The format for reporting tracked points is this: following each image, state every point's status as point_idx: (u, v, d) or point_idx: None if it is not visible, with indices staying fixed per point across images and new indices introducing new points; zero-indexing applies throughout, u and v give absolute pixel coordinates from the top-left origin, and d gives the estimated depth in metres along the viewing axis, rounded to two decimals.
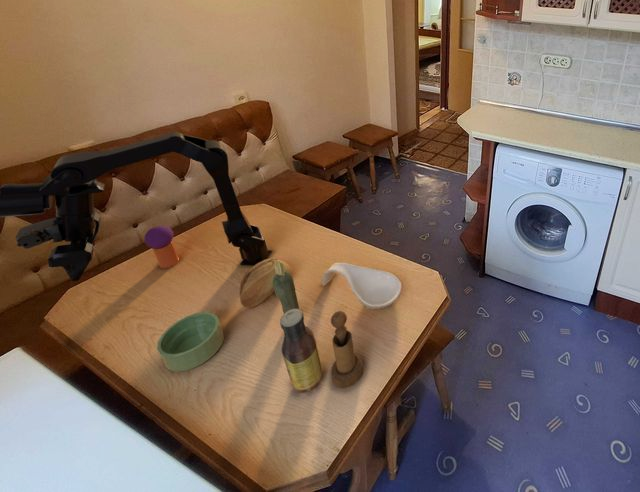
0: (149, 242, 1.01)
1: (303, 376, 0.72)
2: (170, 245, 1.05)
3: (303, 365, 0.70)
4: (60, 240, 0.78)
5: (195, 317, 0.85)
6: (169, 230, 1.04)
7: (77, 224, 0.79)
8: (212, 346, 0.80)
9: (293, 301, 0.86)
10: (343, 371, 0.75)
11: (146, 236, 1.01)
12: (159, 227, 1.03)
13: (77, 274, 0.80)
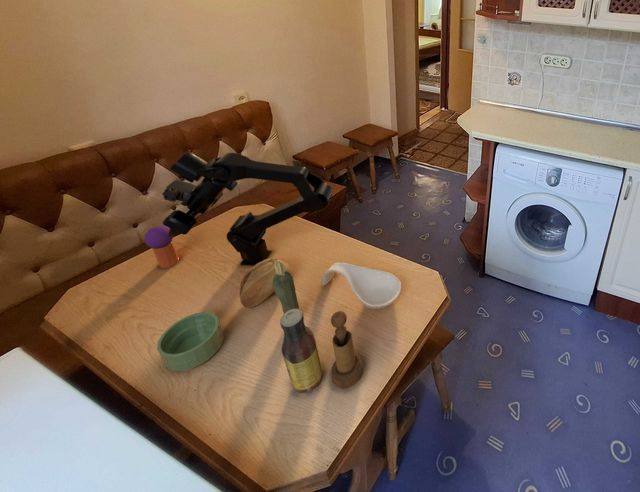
0: (149, 242, 1.01)
1: (303, 376, 0.72)
2: (170, 245, 1.05)
3: (303, 365, 0.70)
4: (184, 205, 0.97)
5: (195, 317, 0.85)
6: None
7: (201, 202, 0.97)
8: (212, 346, 0.80)
9: (293, 301, 0.86)
10: (343, 371, 0.75)
11: (146, 236, 1.01)
12: (159, 227, 1.03)
13: (173, 234, 0.97)
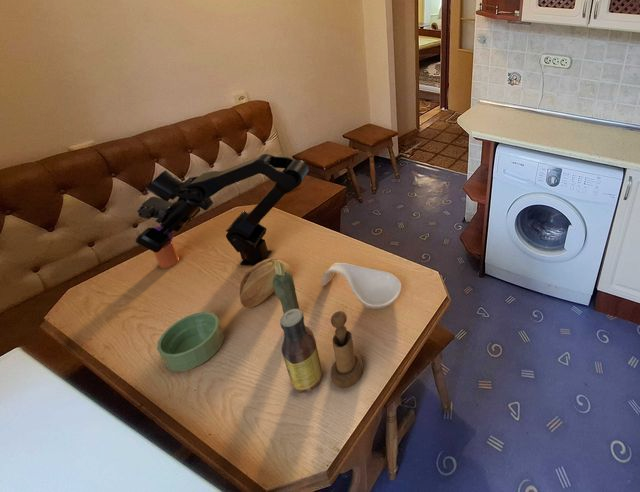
0: None
1: (303, 376, 0.72)
2: (170, 245, 1.05)
3: (303, 365, 0.70)
4: (159, 222, 0.99)
5: (195, 317, 0.85)
6: None
7: (175, 220, 0.99)
8: (212, 346, 0.80)
9: (293, 301, 0.86)
10: (343, 371, 0.75)
11: None
12: (159, 227, 1.03)
13: None
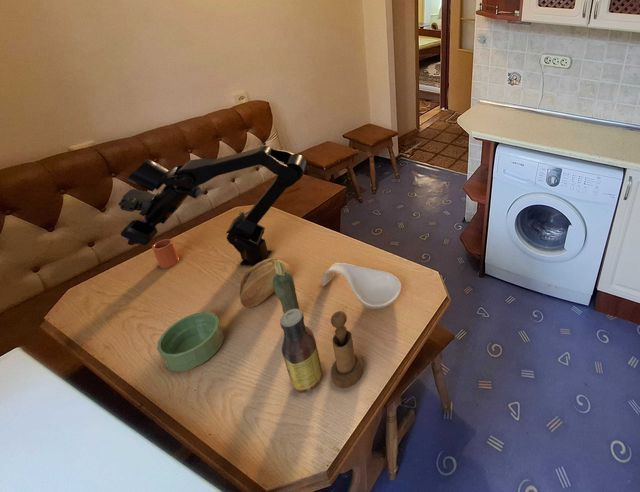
0: None
1: (303, 376, 0.72)
2: (170, 245, 1.05)
3: (303, 365, 0.70)
4: (143, 215, 0.94)
5: (195, 317, 0.85)
6: None
7: (162, 211, 0.95)
8: (212, 346, 0.80)
9: (293, 301, 0.86)
10: (343, 371, 0.75)
11: None
12: None
13: (133, 241, 0.95)
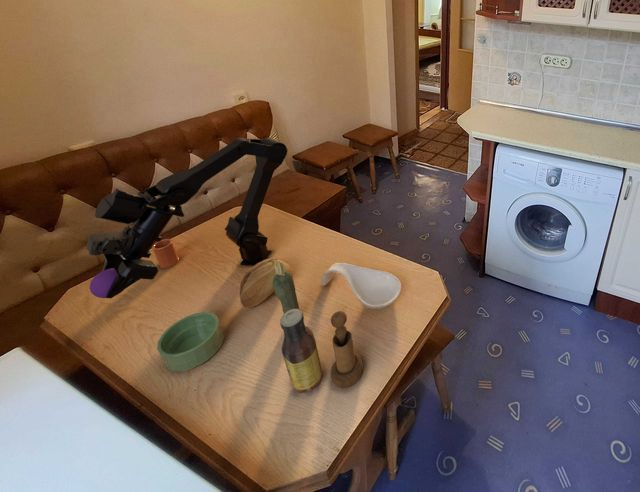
0: None
1: (303, 376, 0.72)
2: (170, 245, 1.05)
3: (303, 365, 0.70)
4: (125, 254, 0.80)
5: (195, 317, 0.85)
6: None
7: (148, 242, 0.84)
8: (212, 346, 0.80)
9: (293, 301, 0.86)
10: (343, 371, 0.75)
11: (100, 285, 0.79)
12: (108, 270, 0.81)
13: (117, 291, 0.80)
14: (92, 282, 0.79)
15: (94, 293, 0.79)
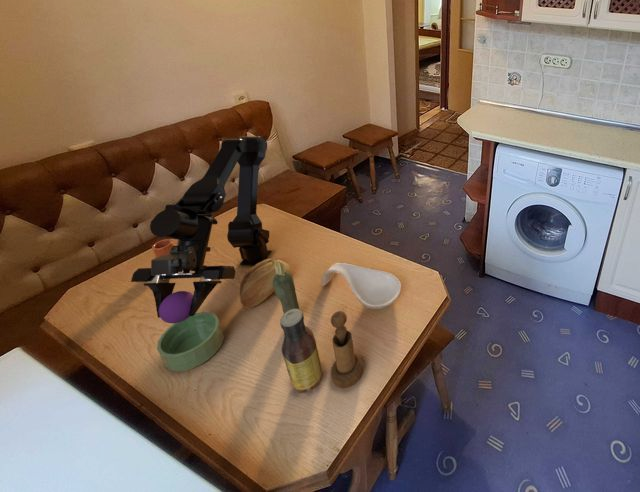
0: None
1: (303, 376, 0.72)
2: (170, 245, 1.05)
3: (303, 365, 0.70)
4: (194, 267, 0.78)
5: (195, 317, 0.85)
6: None
7: (205, 252, 0.82)
8: (212, 346, 0.80)
9: (293, 301, 0.86)
10: (343, 371, 0.75)
11: (181, 305, 0.75)
12: (174, 293, 0.77)
13: (198, 305, 0.78)
14: (168, 308, 0.74)
15: (175, 317, 0.75)
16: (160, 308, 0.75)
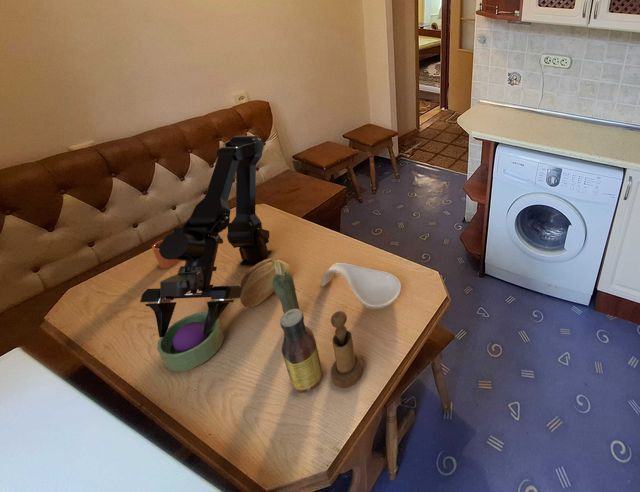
0: (203, 336, 0.81)
1: (303, 376, 0.72)
2: None
3: (303, 365, 0.70)
4: (202, 287, 0.81)
5: (195, 317, 0.85)
6: None
7: (211, 272, 0.84)
8: (212, 346, 0.80)
9: (293, 301, 0.86)
10: (343, 371, 0.75)
11: (194, 337, 0.79)
12: (188, 325, 0.81)
13: (212, 324, 0.80)
14: (182, 340, 0.78)
15: (189, 348, 0.79)
16: (175, 339, 0.79)
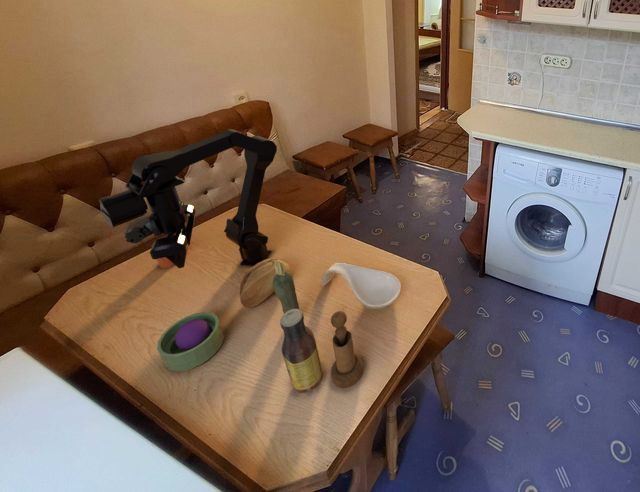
0: (205, 332, 0.82)
1: (303, 376, 0.72)
2: None
3: (303, 365, 0.70)
4: (159, 234, 0.85)
5: (195, 317, 0.85)
6: None
7: (169, 218, 0.85)
8: (212, 346, 0.80)
9: (293, 301, 0.86)
10: (343, 371, 0.75)
11: (197, 330, 0.80)
12: (192, 320, 0.82)
13: (180, 262, 0.87)
14: (185, 332, 0.79)
15: (190, 342, 0.79)
16: (178, 333, 0.80)
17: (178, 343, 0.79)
